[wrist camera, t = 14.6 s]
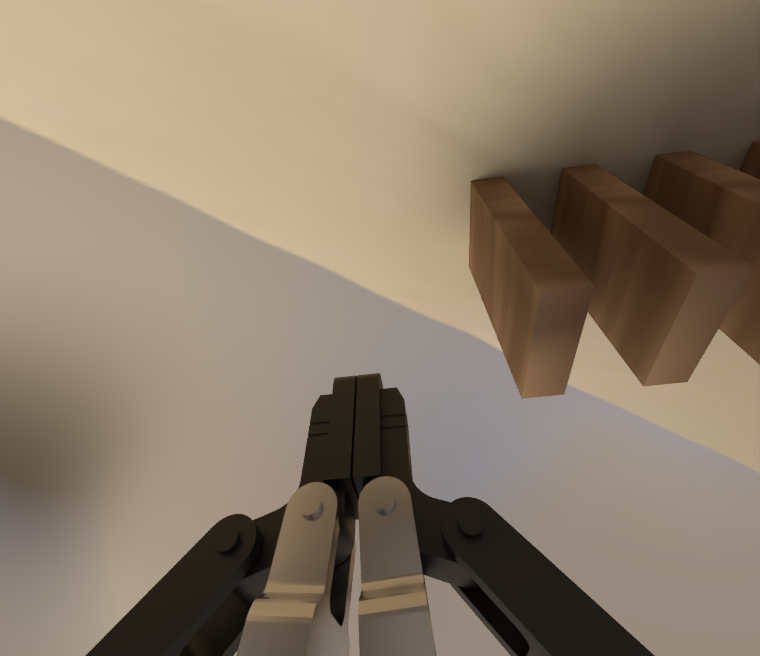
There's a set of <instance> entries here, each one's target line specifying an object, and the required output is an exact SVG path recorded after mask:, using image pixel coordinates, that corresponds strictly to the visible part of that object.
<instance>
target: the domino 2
mask: <svg viewBox="0 0 760 656" xmlns="http://www.w3.org/2000/svg"><path fill="white" fill-rule="evenodd" d="M551 235H552V236H553V237H554V238H555V239H556V240H557V242H558V243H559V244H560V245H561V246H562V248H563V249H564V250H565V251H566V252H567V254H568V255H569V256H570V257H571V258H572V260H573V261H574V262H575V263H576V264H577V265H578V267H579V268H580V269H581V270H582V271H583V273H584V274H585V275H586V276H587V277H588V279H589V280H590V281H591V282H592V283H593V285H594V286H595V287H594V290H593V294H592V297H591V301H590V304H589V308H588V313H589V314H590V315H591V317H592V318H593V319H594V321H595V322H596V323H597V325H598V326H599V327H600V329H601V330H602V331H603V333H604V334H605V336H606V337H607V338H608V340H609V341H610V342H611V344H612V345H613V346H614V348H615V349H616V350H617V352H618V353H619V354H620V356H621V357H622V358H623V360H624V361H625V362H626V364H627V365H628V366H629V368H630V369H631V370H632V372H633V373H634V374H635V376H636V377H637V378H638V380H639V381H640V382H641V384H642V385H643V386H651V385H661V384H671V383H681V382H688V380H689V378H690V377H691V375H692V373H693V371H694V370H695V368H696V366H697V365H698V363H699V361H700V359H701V358H702V356H703V354H704V353H705V351H706V349H707V347H708V346H709V344H710V342H711V341H712V339H713V337H714V335H715V334H716V332H717V330H718V329H719V327H720V325H721V323H722V322H723V320H724V318H725V317H726V315H727V313H728V311H729V310H730V308H731V306H732V305H733V303H734V301H735V299H736V298H737V296H738V294H739V293H740V291H741V289H742V287H743V286H744V284H745V282H746V281H747V279H748V277H749V275H750V274H751V272H752V270H753V269H754V266H753V265H751V264H749V263H748V262H746V261H745V260H743V259H742V258H740V257H739V256H737V255H735V254H734V253H732V252H731V251H729V250H728V249H726V248H725V247H723V246H722V245H720V244H718V243H717V242H715V241H714V240H712V239H711V238H709V237H708V236H706V235H704V234H703V233H701V232H700V231H698V230H697V229H695V228H694V227H692V226H690V225H689V224H687V223H686V222H684V221H683V220H681V219H680V218H678V217H677V216H675V215H673V214H672V213H670V212H669V211H667V210H666V209H664V208H663V207H661V206H659V205H658V204H656V203H655V202H653V201H652V200H650V199H649V198H647V197H646V196H644V195H642V194H641V193H639V192H638V191H636V190H635V189H633V188H632V187H630V186H628V185H627V184H625V183H624V182H622V181H621V180H619V179H618V178H616V177H615V176H613V175H611V174H610V173H608V172H607V171H605V170H604V169H602V168H601V167H599V166H597V165H596V164H591V165H584V166H577V167H569V168H562V172H561V178H560V184H559V190H558V195H557V201H556V207H555V213H554V218H553V224H552V230H551Z"/></svg>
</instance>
